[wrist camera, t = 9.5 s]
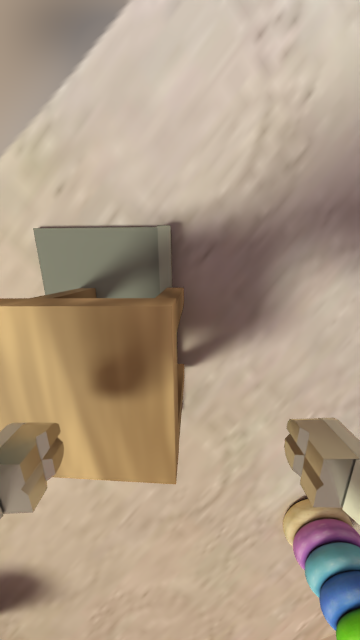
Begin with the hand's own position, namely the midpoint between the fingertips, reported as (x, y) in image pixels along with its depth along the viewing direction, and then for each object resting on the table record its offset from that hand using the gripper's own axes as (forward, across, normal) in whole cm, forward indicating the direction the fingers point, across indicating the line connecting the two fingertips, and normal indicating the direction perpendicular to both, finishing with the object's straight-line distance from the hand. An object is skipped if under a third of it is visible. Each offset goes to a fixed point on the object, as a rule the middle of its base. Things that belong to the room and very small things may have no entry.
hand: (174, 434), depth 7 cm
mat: (+12, +6, 0) cm, 14 cm away
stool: (+6, 0, 0) cm, 6 cm away
